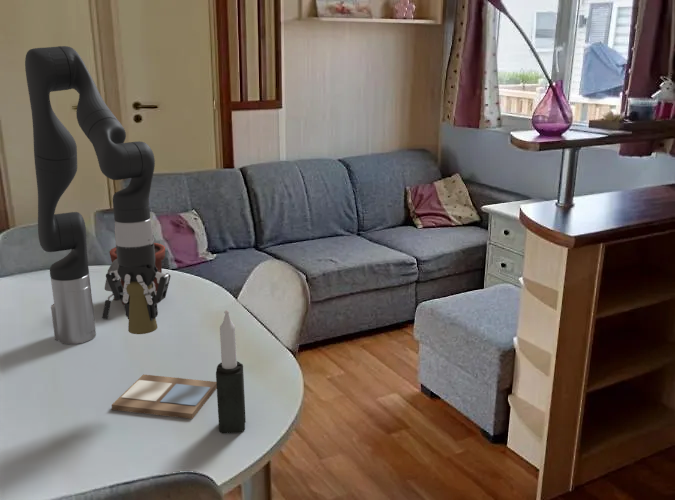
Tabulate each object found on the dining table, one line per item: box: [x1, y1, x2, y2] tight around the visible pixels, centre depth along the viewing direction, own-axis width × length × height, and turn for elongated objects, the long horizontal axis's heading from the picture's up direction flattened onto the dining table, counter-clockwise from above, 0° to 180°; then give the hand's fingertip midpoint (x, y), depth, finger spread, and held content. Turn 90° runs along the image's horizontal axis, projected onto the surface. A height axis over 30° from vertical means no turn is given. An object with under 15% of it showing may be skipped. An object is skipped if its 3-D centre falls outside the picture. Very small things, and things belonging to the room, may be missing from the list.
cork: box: [126, 281, 158, 335], centre depth 143 cm, size 6×6×11 cm
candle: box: [215, 309, 247, 434], centre depth 133 cm, size 5×5×25 cm
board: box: [111, 374, 217, 420], centre depth 148 cm, size 18×14×1 cm
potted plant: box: [101, 242, 166, 320], centre depth 199 cm, size 18×22×25 cm
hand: (142, 318), depth 144 cm, fingers closed on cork, 4 cm apart
